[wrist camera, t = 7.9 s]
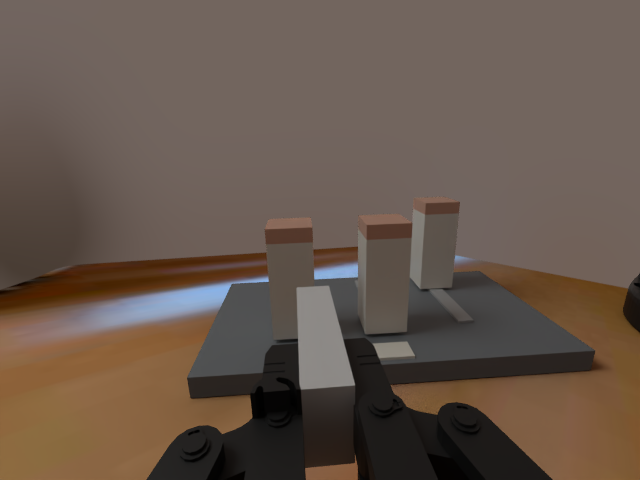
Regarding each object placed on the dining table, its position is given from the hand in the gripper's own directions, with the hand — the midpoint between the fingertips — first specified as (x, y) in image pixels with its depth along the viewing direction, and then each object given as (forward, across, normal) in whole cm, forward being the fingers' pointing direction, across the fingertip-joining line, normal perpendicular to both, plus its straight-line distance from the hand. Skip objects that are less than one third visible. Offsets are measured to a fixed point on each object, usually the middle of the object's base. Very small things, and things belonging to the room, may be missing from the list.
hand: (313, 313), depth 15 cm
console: (+10, +6, -7) cm, 14 cm away
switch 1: (+8, +5, -5) cm, 11 cm away
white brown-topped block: (+8, -1, -5) cm, 10 cm away
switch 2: (+15, +12, -5) cm, 20 cm away
